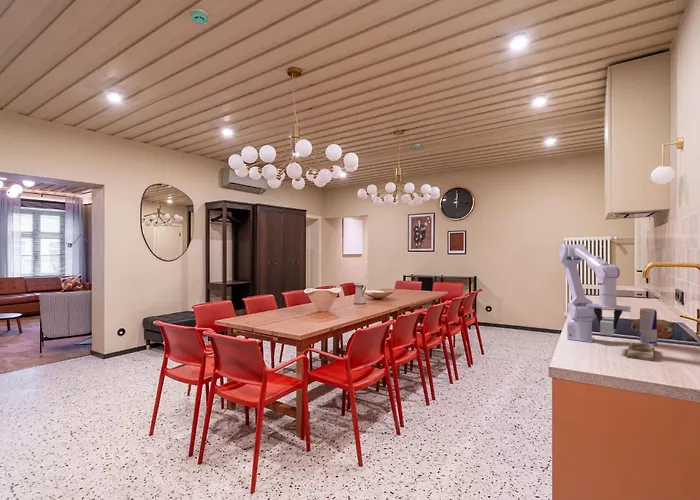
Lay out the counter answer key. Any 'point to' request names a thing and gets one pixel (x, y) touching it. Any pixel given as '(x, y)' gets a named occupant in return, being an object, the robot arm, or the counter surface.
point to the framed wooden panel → (641, 351)
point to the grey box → (607, 326)
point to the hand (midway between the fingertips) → (608, 328)
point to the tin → (663, 328)
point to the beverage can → (648, 326)
